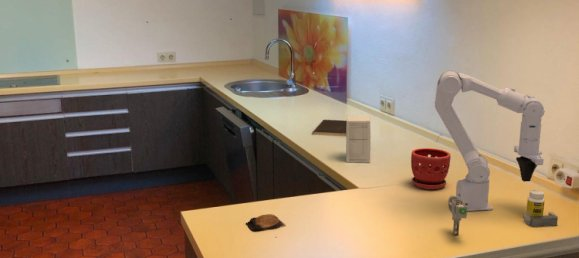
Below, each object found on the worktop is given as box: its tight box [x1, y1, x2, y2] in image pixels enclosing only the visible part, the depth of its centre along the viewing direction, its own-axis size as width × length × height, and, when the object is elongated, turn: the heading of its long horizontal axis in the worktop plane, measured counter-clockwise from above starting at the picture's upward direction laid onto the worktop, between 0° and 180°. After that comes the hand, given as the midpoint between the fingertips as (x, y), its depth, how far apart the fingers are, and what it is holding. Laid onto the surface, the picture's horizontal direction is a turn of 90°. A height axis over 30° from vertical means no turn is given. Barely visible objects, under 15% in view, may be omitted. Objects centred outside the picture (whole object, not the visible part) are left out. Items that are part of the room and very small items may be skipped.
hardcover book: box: [311, 119, 347, 137], centre depth 292 cm, size 16×23×2 cm
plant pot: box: [410, 147, 451, 190], centre depth 214 cm, size 13×13×12 cm
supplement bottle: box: [525, 189, 545, 216], centre depth 186 cm, size 5×5×8 cm
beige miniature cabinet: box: [345, 115, 372, 164], centre depth 244 cm, size 10×9×17 cm
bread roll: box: [245, 213, 287, 233], centre depth 183 cm, size 11×8×4 cm
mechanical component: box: [447, 195, 468, 236], centre depth 175 cm, size 3×10×10 cm, turn 2°
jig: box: [523, 211, 559, 228], centre depth 183 cm, size 9×4×2 cm, turn 96°
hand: (525, 180), depth 191 cm, fingers closed
